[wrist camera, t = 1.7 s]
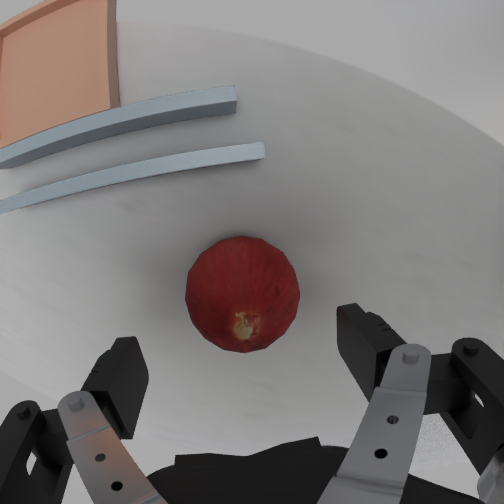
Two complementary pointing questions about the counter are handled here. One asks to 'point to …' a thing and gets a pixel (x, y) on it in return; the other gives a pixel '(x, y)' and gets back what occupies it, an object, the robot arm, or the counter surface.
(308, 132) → the counter surface
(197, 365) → the counter surface
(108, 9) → the terracotta dish
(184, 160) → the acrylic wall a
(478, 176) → the counter surface
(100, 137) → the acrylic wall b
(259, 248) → the pomegranate
